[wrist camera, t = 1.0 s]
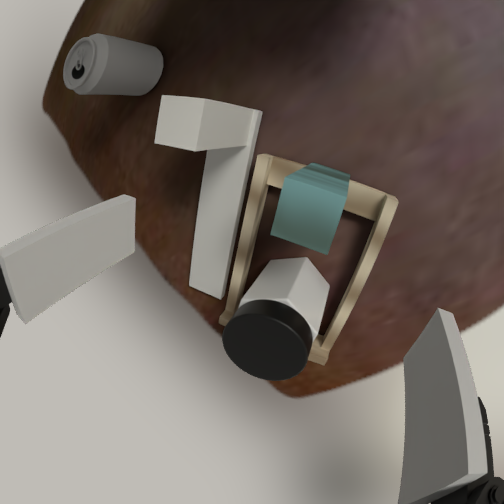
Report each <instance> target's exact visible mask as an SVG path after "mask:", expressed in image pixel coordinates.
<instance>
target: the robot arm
mask: <svg viewBox="0 0 504 504" xmlns="http://www.w3.org/2000/svg"><path fill="white" fill-rule="evenodd" d="M135 205H136V198H134V197H131V196H128V195H125V194H124V195H121V196H118V197H115V198H113V199H110V200H107V201H104V202H102V203H99V204H97V205H94V206H91V207H89V208H86V209H84V210H81V211H79V212H76V213H74V214H72V215H69V216H67V217H65V218H62V219H60V220H57V221H56V222H53V223H51V224H49V225H47V226H44V227H42V228H40V229H38V230H35V231H33V232H31V233H29V234H27V235H25V236H23V237H21V238H19V239H17V240H15V241H13V242H11V243H9V244H7V245H5V246H3V247H1V248H0V337H1V334H2V332H3V329H4V326H5V323H6V321H7V318H8V316H9V312H10V307H9V303H11V302H12V303H13V305H14V308H15V311H16V313H17V315H18V316H19V317H20V318H21V320H22V321H23V322H24V323H25V324H27V323H28V322H29V321H31V320H32V319H33V318H35V317H36V316H37V315H39V314H40V313H42V312H43V311H45V310H46V309H48V308H49V307H50V306H51V305H53V304H55V303H56V302H58V301H59V300H61V299H62V298H63V297H65V296H66V295H68V294H69V293H71V292H72V291H73V290H75V289H77V288H78V287H80V286H81V285H83V284H84V283H86V282H88V281H89V280H91V279H92V278H94V277H95V276H97V275H98V274H100V273H102V272H103V271H105V270H106V269H108V268H109V267H111V266H113V265H114V264H116V263H117V262H119V261H121V260H122V259H124V258H126V257H127V256H129V255H130V254H132V253H134V252H135ZM403 359H404V376H405V442H404V457H403V468H402V478H401V486H400V493H399V499H398V504H428V503H431V504H504V480H503V479H501V478H500V477H494V470H493V457H492V447H491V439H490V436H489V434H490V432H489V426H488V425H487V424H488V419H487V414H486V409H485V407H484V405H483V403H482V401H481V399H480V397H477V392H476V388H475V384H474V380H473V376H472V372H471V368H470V365H469V361H468V358H467V354H466V351H465V348H464V345H463V342H462V339H461V335H460V333H459V330H458V327H457V324H456V321H455V319H454V316H453V313H450V312H448V311H445V310H443V309H440V308H438V309H437V310H436V312H435V313H434V315H433V317H432V318H431V320H430V321H429V323H428V324H427V326H426V327H425V329H424V330H423V332H422V333H421V335H420V336H419V337H418V339H417V340H416V342H415V343H414V344H413V346H412V347H411V349H410V350H409V351H408V353H407V354H406V355H405V357H404V358H403Z"/></svg>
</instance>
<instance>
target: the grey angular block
mask: <svg viewBox="0 0 504 504" xmlns="http://www.w3.org/2000/svg"><path fill="white" fill-rule="evenodd" d="M262 113H263V111H259V110H254V109H250V108H246V107H242V106H238V105H233V104H229V103H224V102H219V101H214V100H209V99H203V98H194V97H183V96H169V95H162V98H161V104H160V110H159V116H158V122H157V129H156V136H155V143H156V144H162V145H167V146H172V147H177V148H182V149H187V150H191V151H203V150H207V155H206V161H205V167H204V173H203V179H202V186H201V192H200V199H199V206H198V213H197V220H196V228H195V236H194V244H193V253H192V262H191V271H190V281H189V286H191V287H193V288H196V289H198V290H200V291H202V292H205V293H207V294H209V295H211V296H214V297H216V298H218V299H222V297H223V296H224V295H225V290H226V285H227V280H228V275H229V270H230V264H231V259H232V254H233V249H234V244H235V239H236V234H237V229H238V224H239V220H240V215H241V210H242V205H243V200H244V195H245V191H246V186H247V181H248V177H249V172H250V167H251V163H252V158H253V153H254V149H255V144H256V140H257V135H258V131H259V126H260V122H261V117H262Z"/></svg>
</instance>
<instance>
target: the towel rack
mask: <svg viewBox="0 0 504 504" xmlns="http://www.w3.org/2000/svg"><path fill="white" fill-rule="evenodd" d="M269 185H271V186H274V187H278V188H281V189H282V191H281V195H280V199H279V203H278V206H277V210H276V214H275V218H274V222H273V226H272V230H271V234H270V235H273V236H276V237H279V238H282V239H285V240H287V241H290V242H293V243H296V244H299V245H301V246H304V247H307V248H310V249H312V250H315V251H318V252H321V253H323V254H326V255H327V254H328V251H329V249H330V246H331V243H332V240H333V237H334V235H335V232H336V229H337V226H338V223H339V220H340V217H341V214H342V211H343V209H344V210H346V211H349V212H352V213H355V214H357V215H360V216H363V217H365V218H368V219H371V220H373V221H375V222H374V224H373V227H372V230H371V232H370V235H369V237H368V240H367V243H366V245H365V248H364V250H363V252H362V255H361V257H360V260H359V262H358V264H357V267H356V269H355V271H354V274H353V276H352V278H351V280H350V283H349V285H348V287H347V289H346V291H345V294H344V296H343V298H342V300H341V302H340V304H339V306H338V308H337V311H336V313H335V315H334V317H333V319H332V321H331V323H330V325H329V327H328V329H327V331H326V333H325V335H324V336H322V335H320V334H318V335H317V336H316V338H315V340H314V341H313V343H312V347H311V351H310V354H309V357H308V360H310V361H313V362H316V363H318V364H321V365H325V363H326V361H327V360H328V355H329V351H330V349H331V347H332V346H333V344H334V342H335V340H336V338H337V337H338V335H339V333H340V331H341V329H342V328H343V326H344V324H345V322H346V320H347V318H348V316H349V314H350V312H351V310H352V308H353V306H354V305H355V303H356V301H357V298H358V296H359V294H360V292H361V290H362V288H363V286H364V284H365V282H366V280H367V278H368V275H369V273H370V271H371V269H372V267H373V264H374V262H375V260H376V258H377V255H378V253H379V251H380V248H381V246H382V244H383V241H384V239H385V236H386V234H387V231H388V229H389V226H390V224H391V221H392V218H393V216H394V213H395V210H396V208H397V205H398V200H397V199H396V197H395V196H392V195H390V194H387V193H385V192H382V191H380V190H377V189H374V188H372V187H369V186H366V185H364V184H361V183H358V182H355V181H353V180H350V174H347V173H344V172H341V171H338V170H335V169H332V168H329V167H326V166H323V165H320V164H317V163H311V164H309V165H304V164H301V163H297V162H294V161H290V160H287V159H283V158H280V157H276V156H272V155H269V154H260V155H258V156H257V160H256V165H255V169H254V174H253V179H252V183H251V188H250V192H249V197H248V202H247V206H246V211H245V216H244V221H243V225H242V230H241V235H240V240H239V244H238V249H237V254H236V259H235V264H234V269H233V274H232V279H231V284H230V288H229V293H228V298H227V303H226V309H225V311H224V312H223V313H222V315H221V316H220V318H219V324H221V325H223V326H226V324H227V323H228V322H229V320H230V319H231V318H232V316H233V315H234V314H235V312H236V311H237V310H238V307H239V304H240V301H241V299H242V296H243V292H244V288H245V284H246V279H247V275H248V271H249V267H250V263H251V259H252V254H253V250H254V246H255V242H256V238H257V233H258V229H259V225H260V221H261V217H262V212H263V208H264V204H265V200H266V195H267V191H268V187H269Z"/></svg>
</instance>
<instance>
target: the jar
mask: <svg viewBox="0 0 504 504" xmlns="http://www.w3.org/2000/svg"><path fill="white" fill-rule="evenodd" d="M329 288H330V285H329V284H328V283H327V281H326V280H325V279H324V278H323V276H322V275H321V274H320V273H319V271H318V270H317V269H316V268H315V266H314V265H313V264H312V263H311V261H310V260H309V259H308V258H307V257H302V258H289V259H276V260H270V261H269V263H268V264H267V265H266V267H265V268H264V269H263V271H262V272H261V273H260V275H259V276H258V278H257V279H256V280H255V282H254V283H253V284H252V286H251V287H250V288H249V290H248V291H247V292H246V294H245V295H244V296H243V298H242V299H241V301H240V304H239V307H238V310H237V311H236V312H235V314H234V315H233V316H232V318H231V319H230V320H229V322H228V323H227V324H226V326H225V328H224V330H223V335H222V341H223V346H224V349H225V351H226V353H227V355H228V356H229V357H230V359H231V360H232V361H233V362H234V363H235V364H236V365H237V366H238V367H239V368H240V369H242V370H243V371H245V372H247V373H248V374H250V375H253V376H255V377H258V378H261V379H265V380H272V381H280V380H286V379H290V378H292V377H294V376H296V375H298V374H299V373H300V372H301V371H302V370H303V369H304V367H305V366H306V363H307V360H308V357H309V354H310V351H311V347H312V343H313V341H314V340H315V338H316V336H317V335H318V332H319V328H320V324H321V320H322V317H323V313H324V309H325V305H326V301H327V296H328V292H329Z"/></svg>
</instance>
